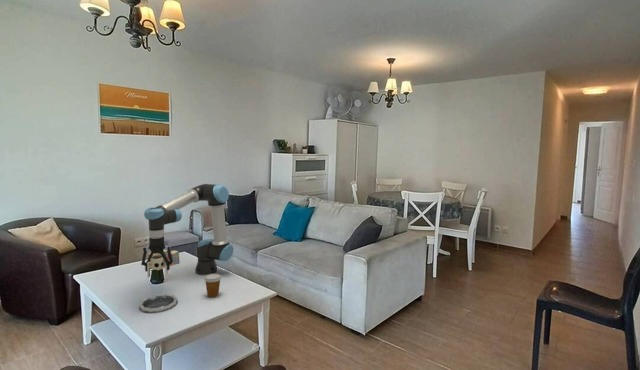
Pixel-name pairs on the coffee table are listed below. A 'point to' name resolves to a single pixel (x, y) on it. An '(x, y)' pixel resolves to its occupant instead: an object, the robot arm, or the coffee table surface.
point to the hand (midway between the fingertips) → (157, 276)
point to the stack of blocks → (174, 256)
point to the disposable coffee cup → (212, 284)
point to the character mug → (156, 267)
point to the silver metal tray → (158, 303)
